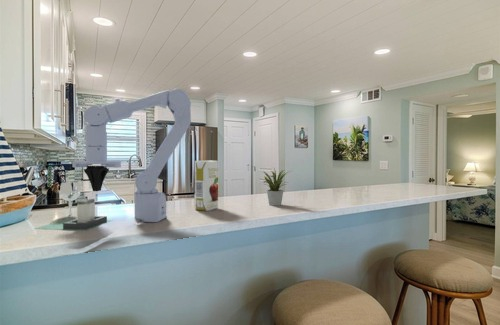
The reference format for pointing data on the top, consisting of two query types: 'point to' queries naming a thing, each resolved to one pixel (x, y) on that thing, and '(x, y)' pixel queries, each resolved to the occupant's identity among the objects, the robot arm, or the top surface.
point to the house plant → (275, 188)
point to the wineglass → (70, 192)
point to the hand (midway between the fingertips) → (96, 190)
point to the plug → (85, 210)
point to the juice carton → (206, 185)
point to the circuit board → (76, 224)
